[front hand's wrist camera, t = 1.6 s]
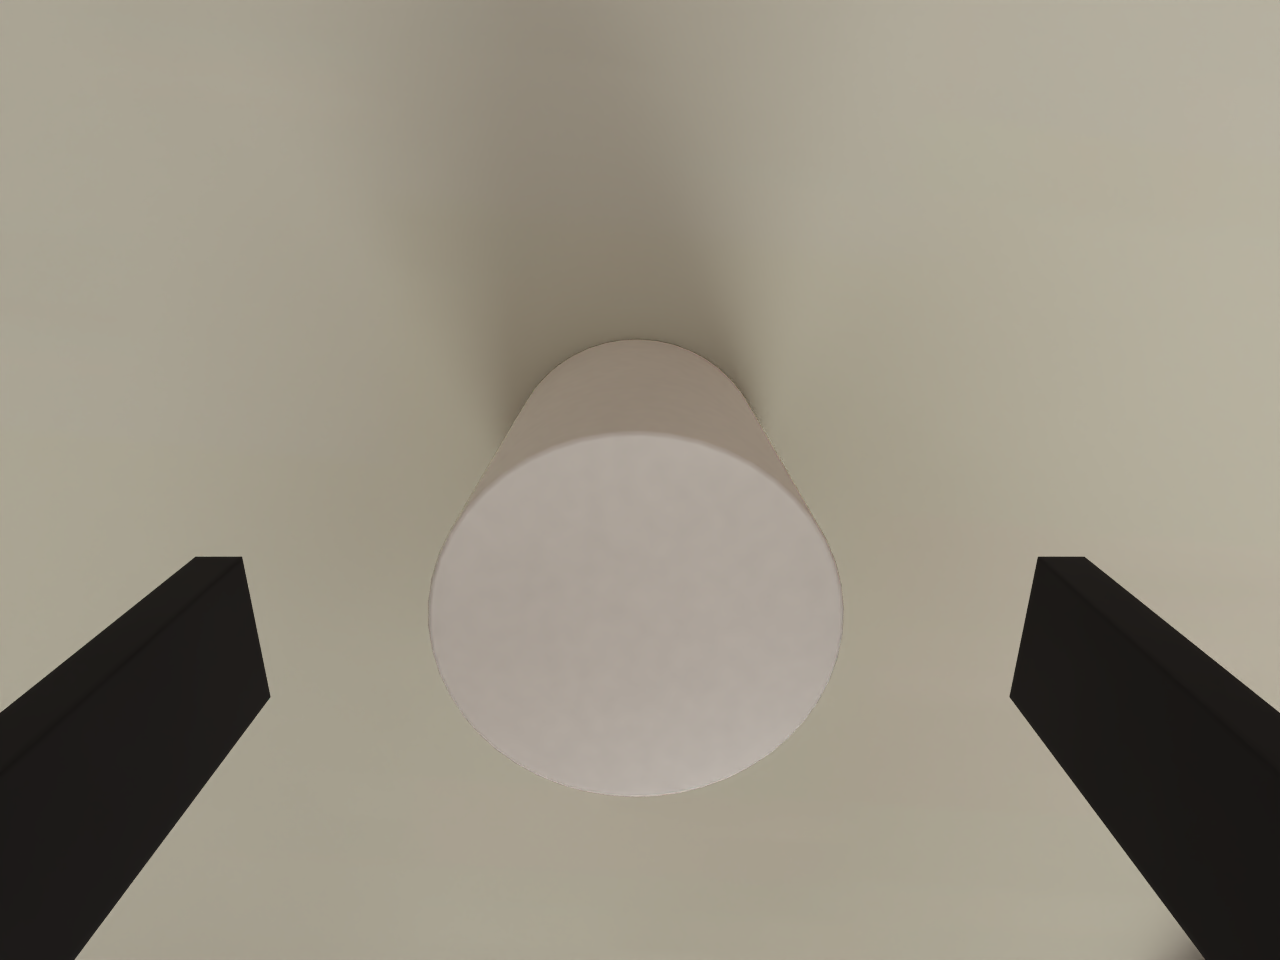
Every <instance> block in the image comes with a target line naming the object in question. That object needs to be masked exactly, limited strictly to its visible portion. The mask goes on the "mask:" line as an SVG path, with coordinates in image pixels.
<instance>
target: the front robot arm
mask: <svg viewBox="0 0 1280 960" xmlns="http://www.w3.org/2000/svg"><path fill="white" fill-rule="evenodd" d="M269 698H270V692H269V687H268V682H267V677H266V673H265V668H264V663H263V658H262V653H261V648H260V643H259V638H258V633H257V628H256V623H255V618H254V613H253V608H252V603H251V599H250V594H249V589H248V584H247V579H246V574H245V569H244V564H243V559H242V557H195V558H193V559H192V560H191V561H190V562H188V563H187V564H186V565H185V566H183V567H182V568H181V569H180V570H178V571H177V572H176V573H175V574H173V575H172V576H171V577H170V578H168V579H167V580H166V581H165V582H163V583H162V584H161V585H160V586H158V587H157V588H156V589H155V590H153V591H152V592H151V593H150V594H148V595H147V596H146V597H145V598H143V599H142V600H141V601H140V602H138V603H137V604H136V605H135V606H133V607H132V608H131V609H130V610H128V611H127V612H126V613H125V614H123V615H122V616H121V617H120V618H118V619H117V620H116V621H115V622H113V623H112V624H111V625H110V626H108V627H107V628H106V629H105V630H103V631H102V632H101V633H100V634H98V635H97V636H96V637H95V638H93V639H92V640H91V641H90V642H88V643H87V644H86V645H85V646H83V647H82V648H81V649H80V650H78V651H77V652H76V653H75V654H73V655H72V656H71V657H70V658H68V659H67V660H66V661H65V662H63V663H62V664H61V665H60V666H58V667H57V668H56V669H55V670H53V671H52V672H51V673H50V674H48V675H47V676H46V677H45V678H43V679H42V680H41V681H40V682H38V683H37V684H36V685H35V686H33V687H32V688H31V689H30V690H28V691H27V692H26V693H25V694H23V695H22V696H21V697H20V698H18V699H17V700H16V701H15V702H13V703H12V704H11V705H10V706H8V707H7V708H6V709H4V710H3V711H2V712H1V713H0V960H75V958H76V957H77V956H78V954H79V953H80V952H81V950H82V949H83V948H84V946H85V945H86V943H87V942H88V941H89V939H90V938H91V937H92V935H93V934H94V933H95V931H96V930H97V929H98V927H99V926H100V925H101V923H102V922H103V921H104V919H105V918H106V917H107V915H108V914H109V913H110V911H111V910H112V909H113V907H114V906H115V905H116V903H117V902H118V901H119V899H120V898H121V897H122V895H123V894H124V893H125V891H126V890H127V889H128V887H129V886H130V885H131V883H132V882H133V880H134V879H135V878H136V876H137V875H138V874H139V872H140V871H141V870H142V868H143V867H144V866H145V864H146V863H147V862H148V860H149V859H150V858H151V856H152V855H153V854H154V852H155V851H156V850H157V848H158V847H159V846H160V844H161V843H162V842H163V840H164V839H165V838H166V836H167V835H168V834H169V832H170V831H171V830H172V828H173V827H174V826H175V824H176V823H177V822H178V820H179V819H180V817H181V816H182V815H183V813H184V812H185V811H186V809H187V808H188V807H189V805H190V804H191V803H192V801H193V800H194V799H195V797H196V796H197V795H198V793H199V792H200V791H201V789H202V788H203V787H204V785H205V784H206V783H207V781H208V780H209V779H210V777H211V776H212V775H213V773H214V772H215V771H216V769H217V768H218V767H219V765H220V764H221V763H222V761H223V760H224V759H225V757H226V756H227V755H228V753H229V752H230V750H231V749H232V748H233V746H234V745H235V744H236V742H237V741H238V740H239V738H240V737H241V736H242V734H243V733H244V732H245V730H246V729H247V728H248V726H249V725H250V724H251V722H252V721H253V720H254V718H255V717H256V716H257V714H258V713H259V712H260V710H261V709H262V708H263V706H264V705H265V704H266V702H267V701H268V700H269ZM1010 698H1011V700H1012V701H1013V702H1014V704H1015V705H1016V706H1017V708H1018V709H1019V710H1020V712H1021V713H1022V714H1023V716H1024V717H1025V718H1026V720H1027V721H1028V722H1029V724H1030V725H1031V726H1032V728H1033V729H1034V730H1035V732H1036V733H1037V734H1038V736H1039V737H1040V738H1041V740H1042V741H1043V742H1044V744H1045V745H1046V746H1047V748H1048V749H1049V750H1050V752H1051V753H1052V755H1053V756H1054V757H1055V759H1056V760H1057V761H1058V763H1059V764H1060V765H1061V767H1062V768H1063V769H1064V771H1065V772H1066V773H1067V775H1068V776H1069V777H1070V779H1071V780H1072V781H1073V783H1074V784H1075V785H1076V787H1077V788H1078V789H1079V791H1080V792H1081V793H1082V795H1083V796H1084V797H1085V799H1086V800H1087V801H1088V803H1089V804H1090V805H1091V807H1092V808H1093V809H1094V811H1095V812H1096V813H1097V815H1098V816H1099V817H1100V819H1101V820H1102V822H1103V823H1104V824H1105V826H1106V827H1107V828H1108V830H1109V831H1110V832H1111V834H1112V835H1113V836H1114V838H1115V839H1116V840H1117V842H1118V843H1119V844H1120V846H1121V847H1122V848H1123V850H1124V851H1125V852H1126V854H1127V855H1128V856H1129V858H1130V859H1131V860H1132V862H1133V863H1134V864H1135V866H1136V867H1137V868H1138V870H1139V871H1140V872H1141V874H1142V875H1143V876H1144V878H1145V879H1146V880H1147V882H1148V883H1149V885H1150V886H1151V887H1152V889H1153V890H1154V891H1155V893H1156V894H1157V895H1158V897H1159V898H1160V899H1161V901H1162V902H1163V903H1164V905H1165V906H1166V907H1167V909H1168V910H1169V911H1170V913H1171V914H1172V915H1173V917H1174V918H1175V919H1176V921H1177V922H1178V923H1179V925H1180V926H1181V927H1182V929H1183V930H1184V931H1185V933H1186V934H1187V935H1188V937H1189V938H1190V939H1191V941H1192V942H1193V943H1194V945H1195V946H1196V947H1197V949H1198V950H1199V952H1200V953H1201V954H1202V956H1203V957H1204V958H1205V960H1280V713H1279V712H1278V711H1277V710H1276V709H1274V708H1273V707H1272V706H1270V705H1269V704H1268V703H1267V702H1265V701H1264V700H1263V699H1262V698H1260V697H1259V696H1258V695H1257V694H1255V693H1254V692H1253V691H1252V690H1250V689H1249V688H1248V687H1247V686H1245V685H1244V684H1243V683H1242V682H1240V681H1239V680H1238V679H1237V678H1235V677H1234V676H1233V675H1232V674H1230V673H1229V672H1228V671H1227V670H1225V669H1224V668H1223V667H1222V666H1220V665H1219V664H1218V663H1217V662H1215V661H1214V660H1213V659H1212V658H1210V657H1209V656H1208V655H1207V654H1205V653H1204V652H1203V651H1202V650H1200V649H1199V648H1198V647H1197V646H1195V645H1194V644H1193V643H1192V642H1190V641H1189V640H1188V639H1187V638H1185V637H1184V636H1183V635H1182V634H1180V633H1179V632H1178V631H1177V630H1175V629H1174V628H1173V627H1172V626H1170V625H1169V624H1168V623H1167V622H1165V621H1164V620H1163V619H1162V618H1160V617H1159V616H1158V615H1157V614H1155V613H1154V612H1153V611H1152V610H1150V609H1149V608H1148V607H1147V606H1145V605H1144V604H1143V603H1142V602H1140V601H1139V600H1138V599H1137V598H1135V597H1134V596H1133V595H1132V594H1130V593H1129V592H1128V591H1127V590H1125V589H1124V588H1123V587H1122V586H1120V585H1119V584H1118V583H1117V582H1115V581H1114V580H1113V579H1112V578H1110V577H1109V576H1108V575H1107V574H1105V573H1104V572H1103V571H1102V570H1100V569H1099V568H1098V567H1097V566H1095V565H1094V564H1093V563H1092V562H1090V561H1089V560H1088V559H1087V558H1085V557H1038V559H1037V564H1036V569H1035V574H1034V579H1033V584H1032V589H1031V594H1030V599H1029V603H1028V608H1027V613H1026V618H1025V623H1024V628H1023V633H1022V638H1021V643H1020V648H1019V653H1018V658H1017V663H1016V668H1015V673H1014V677H1013V682H1012V687H1011V692H1010Z"/></svg>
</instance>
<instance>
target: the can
mask: <svg viewBox="0 0 1280 960" xmlns="http://www.w3.org/2000/svg"><path fill="white" fill-rule="evenodd" d="M843 614H844V607H843V596H842V586H841V582H840V578H839V574H838V570H837V566H836V562H835V559H834V557H833V554H832V552H831V549H830V547H829V545H828V542H827V540H826V538H825V536H824V534H823V532H822V531H821V529H820V527H819V526H818V524H817V522H816V520H815V519H814V517H813V515H812V513H811V512H810V510H809V508H808V506H807V505H806V503H805V501H804V500H803V498H802V496H801V494H800V493H799V491H798V489H797V487H796V486H795V484H794V482H793V481H792V479H791V477H790V475H789V474H788V472H787V470H786V468H785V467H784V465H783V463H782V461H781V460H780V458H779V456H778V455H777V453H776V451H775V449H774V448H773V446H772V444H771V442H770V441H769V439H768V437H767V436H766V434H765V432H764V430H763V429H762V427H761V425H760V423H759V422H758V420H757V418H756V416H755V415H754V413H753V411H752V410H751V408H750V406H749V404H748V403H747V401H746V399H745V398H744V396H743V395H742V393H741V392H740V390H739V389H738V388H737V387H736V385H735V384H734V383H733V382H732V380H731V379H730V378H729V377H727V376H726V375H725V374H724V373H723V372H722V371H721V370H720V369H719V368H718V367H716V366H715V365H713V364H712V363H711V362H709V361H708V360H706V359H705V358H703V357H701V356H699V355H697V354H695V353H693V352H692V351H690V350H687V349H684V348H681V347H679V346H676V345H673V344H668V343H664V342H660V341H652V340H641V339H637V340H620V341H614V342H609V343H604V344H601V345H598V346H594V347H591V348H588V349H586V350H584V351H582V352H580V353H578V354H576V355H573V356H572V357H570V358H569V359H567V360H566V361H564V362H562V363H561V364H559V365H558V366H557V367H556V368H555V369H553V370H552V371H551V372H550V373H549V374H548V375H546V376H545V378H544V379H543V380H542V381H541V382H540V383H539V384H538V385H537V387H536V388H535V389H534V391H533V392H532V394H531V395H530V397H529V398H528V400H527V401H526V403H525V404H524V406H523V408H522V409H521V411H520V413H519V414H518V416H517V418H516V420H515V421H514V423H513V425H512V426H511V428H510V430H509V431H508V433H507V435H506V436H505V438H504V440H503V442H502V443H501V445H500V447H499V448H498V450H497V452H496V453H495V455H494V457H493V459H492V460H491V462H490V464H489V465H488V467H487V469H486V470H485V472H484V474H483V475H482V477H481V479H480V481H479V482H478V484H477V486H476V487H475V489H474V491H473V492H472V494H471V496H470V497H469V499H468V501H467V503H466V504H465V506H464V508H463V509H462V511H461V513H460V514H459V516H458V518H457V519H456V521H455V523H454V525H453V526H452V528H451V530H450V532H449V534H448V536H447V538H446V540H445V542H444V544H443V546H442V548H441V550H440V553H439V555H438V559H437V562H436V565H435V568H434V572H433V575H432V579H431V586H430V593H429V600H428V626H429V632H430V639H431V645H432V650H433V654H434V657H435V660H436V663H437V667H438V670H439V673H440V675H441V678H442V680H443V682H444V684H445V686H446V688H447V690H448V692H449V694H450V696H451V698H452V699H453V701H454V702H455V704H456V705H457V707H458V708H459V710H460V712H461V713H462V715H463V716H464V717H465V718H466V719H467V721H468V722H469V723H470V724H471V725H472V726H473V728H474V729H475V730H476V731H477V732H478V733H479V734H480V735H481V736H482V737H483V738H484V739H485V740H486V741H488V742H489V743H490V744H491V745H492V746H493V747H494V748H495V749H496V750H498V751H499V752H501V753H502V754H503V755H505V756H506V757H508V758H509V759H510V760H512V761H513V762H515V763H516V764H518V765H520V766H522V767H524V768H525V769H527V770H529V771H531V772H533V773H534V774H536V775H539V776H541V777H543V778H546V779H548V780H551V781H553V782H556V783H558V784H561V785H564V786H568V787H571V788H575V789H578V790H582V791H586V792H592V793H598V794H603V795H612V796H626V797H643V796H660V795H667V794H674V793H681V792H685V791H689V790H693V789H697V788H701V787H705V786H708V785H710V784H713V783H716V782H718V781H721V780H724V779H726V778H729V777H731V776H733V775H735V774H737V773H739V772H741V771H743V770H745V769H747V768H749V767H750V766H752V765H753V764H755V763H757V762H758V761H760V760H761V759H763V758H764V757H766V756H767V755H769V754H770V753H771V752H773V751H774V750H775V749H776V748H777V747H778V746H780V745H781V744H782V743H783V742H784V741H786V740H787V739H788V738H789V737H790V736H791V735H792V734H793V733H794V731H795V730H796V729H797V728H798V727H799V726H800V725H801V724H802V723H803V722H804V721H805V719H806V718H807V716H808V715H809V714H810V712H811V711H812V709H813V708H814V707H815V705H816V704H817V702H818V701H819V699H820V697H821V695H822V693H823V691H824V689H825V687H826V686H827V684H828V682H829V680H830V677H831V674H832V671H833V668H834V666H835V663H836V660H837V657H838V653H839V648H840V643H841V638H842V632H843Z"/></svg>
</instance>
